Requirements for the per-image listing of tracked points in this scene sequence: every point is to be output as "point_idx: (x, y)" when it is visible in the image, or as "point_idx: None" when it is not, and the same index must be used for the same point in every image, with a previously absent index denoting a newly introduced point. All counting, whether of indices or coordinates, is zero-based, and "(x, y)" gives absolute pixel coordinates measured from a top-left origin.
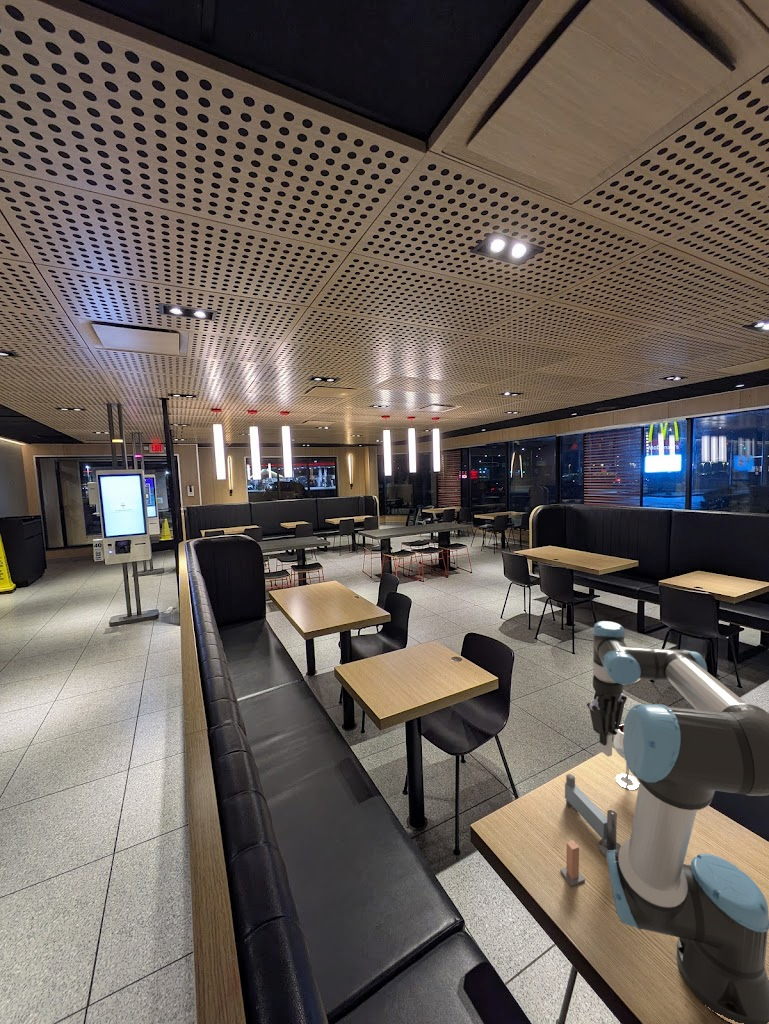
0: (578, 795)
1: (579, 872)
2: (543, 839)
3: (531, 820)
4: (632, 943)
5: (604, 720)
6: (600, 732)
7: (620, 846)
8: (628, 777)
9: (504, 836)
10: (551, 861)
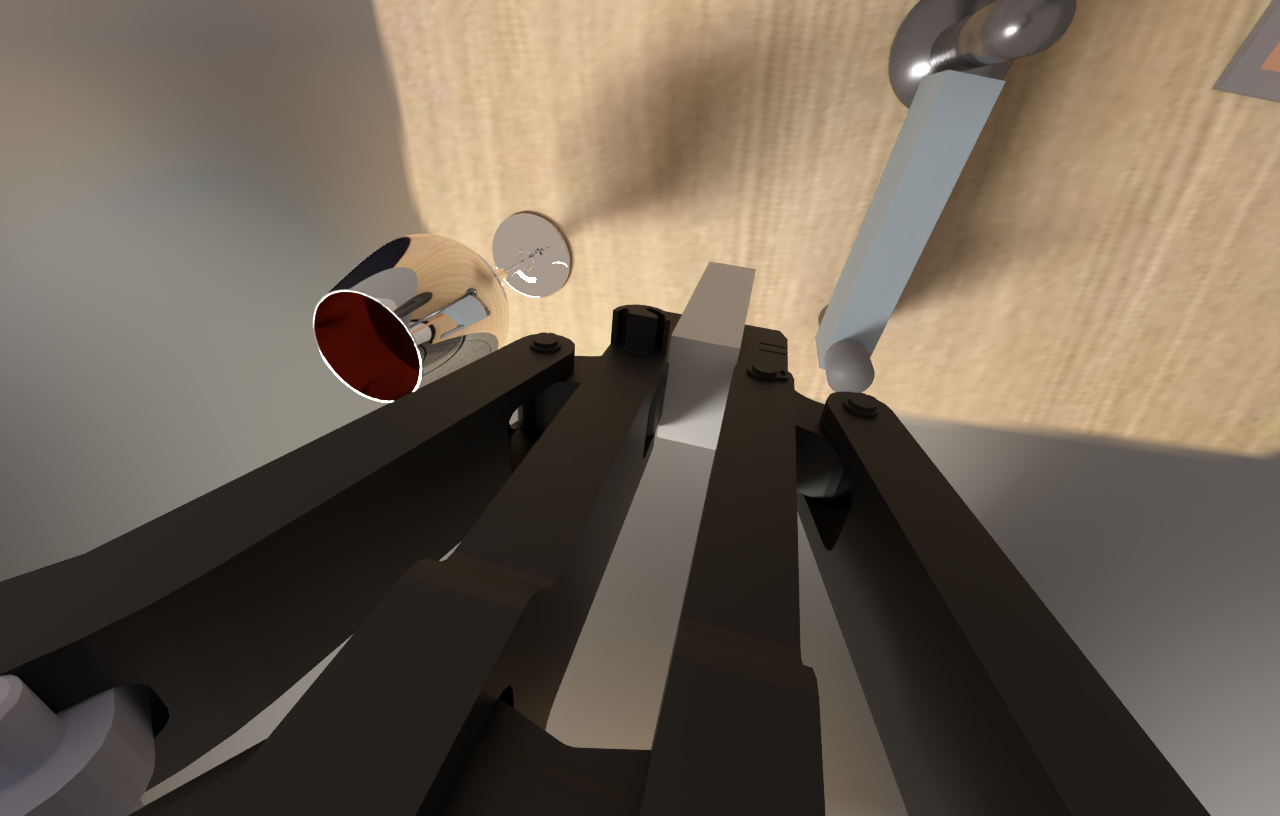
0: (893, 294)
1: (1256, 35)
2: (1131, 274)
3: (1054, 363)
4: None
5: (790, 537)
6: (902, 430)
7: (904, 31)
8: (519, 257)
9: (1247, 380)
10: (1255, 173)
